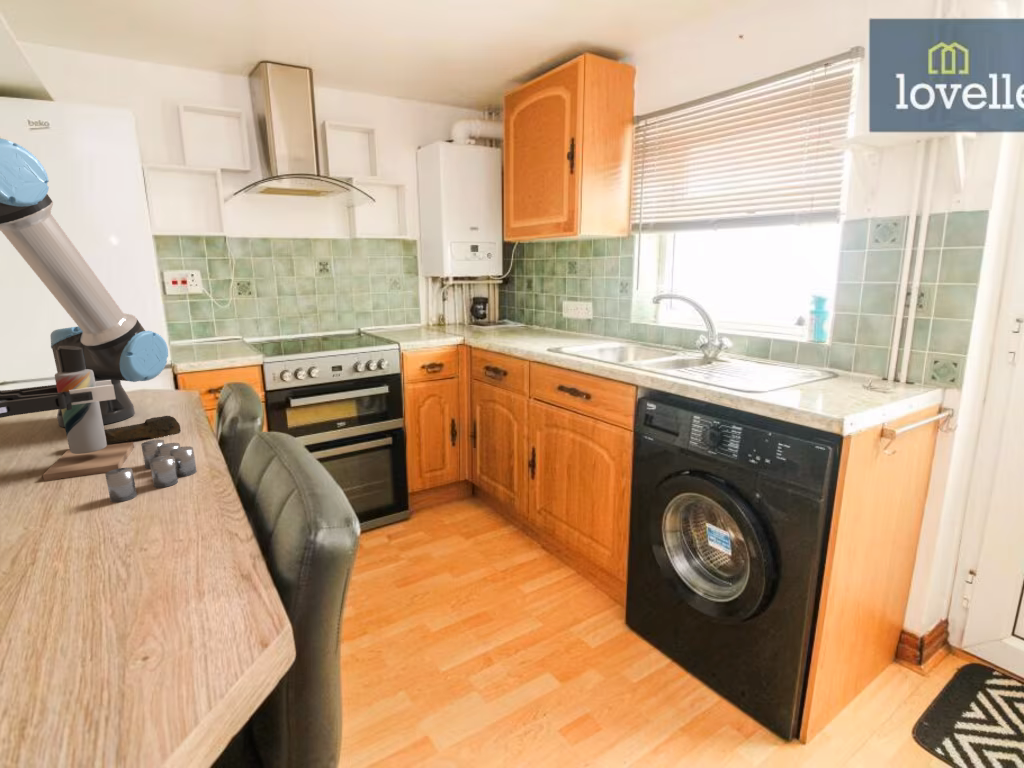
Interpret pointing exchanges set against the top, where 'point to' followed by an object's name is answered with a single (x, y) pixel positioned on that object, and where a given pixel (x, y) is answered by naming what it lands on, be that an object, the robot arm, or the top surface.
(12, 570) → the top surface
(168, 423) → the hand tool
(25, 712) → the top surface
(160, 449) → the steel spacers
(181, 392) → the top surface
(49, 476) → the brown wooden flat board
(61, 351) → the lotion bottle
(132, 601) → the top surface
